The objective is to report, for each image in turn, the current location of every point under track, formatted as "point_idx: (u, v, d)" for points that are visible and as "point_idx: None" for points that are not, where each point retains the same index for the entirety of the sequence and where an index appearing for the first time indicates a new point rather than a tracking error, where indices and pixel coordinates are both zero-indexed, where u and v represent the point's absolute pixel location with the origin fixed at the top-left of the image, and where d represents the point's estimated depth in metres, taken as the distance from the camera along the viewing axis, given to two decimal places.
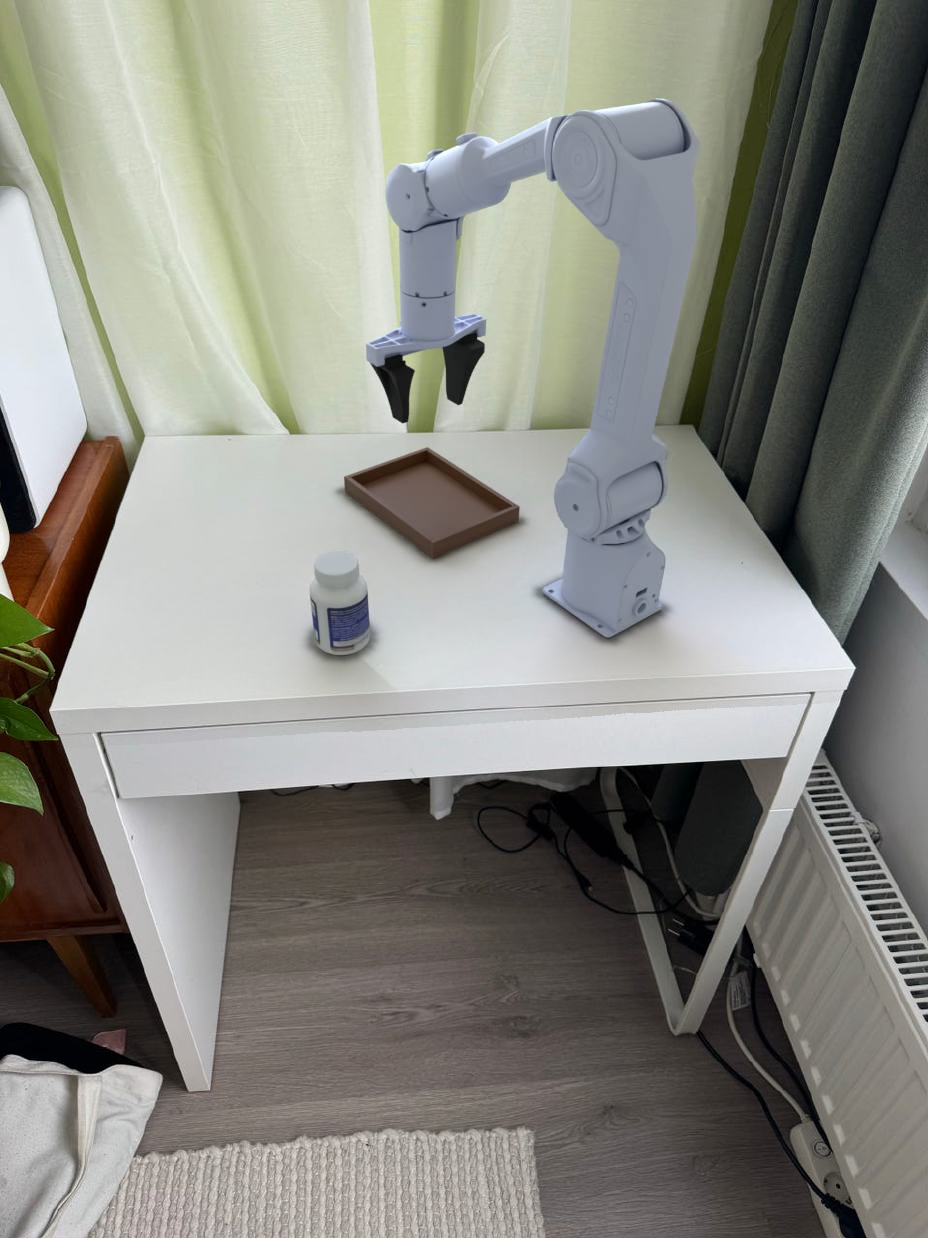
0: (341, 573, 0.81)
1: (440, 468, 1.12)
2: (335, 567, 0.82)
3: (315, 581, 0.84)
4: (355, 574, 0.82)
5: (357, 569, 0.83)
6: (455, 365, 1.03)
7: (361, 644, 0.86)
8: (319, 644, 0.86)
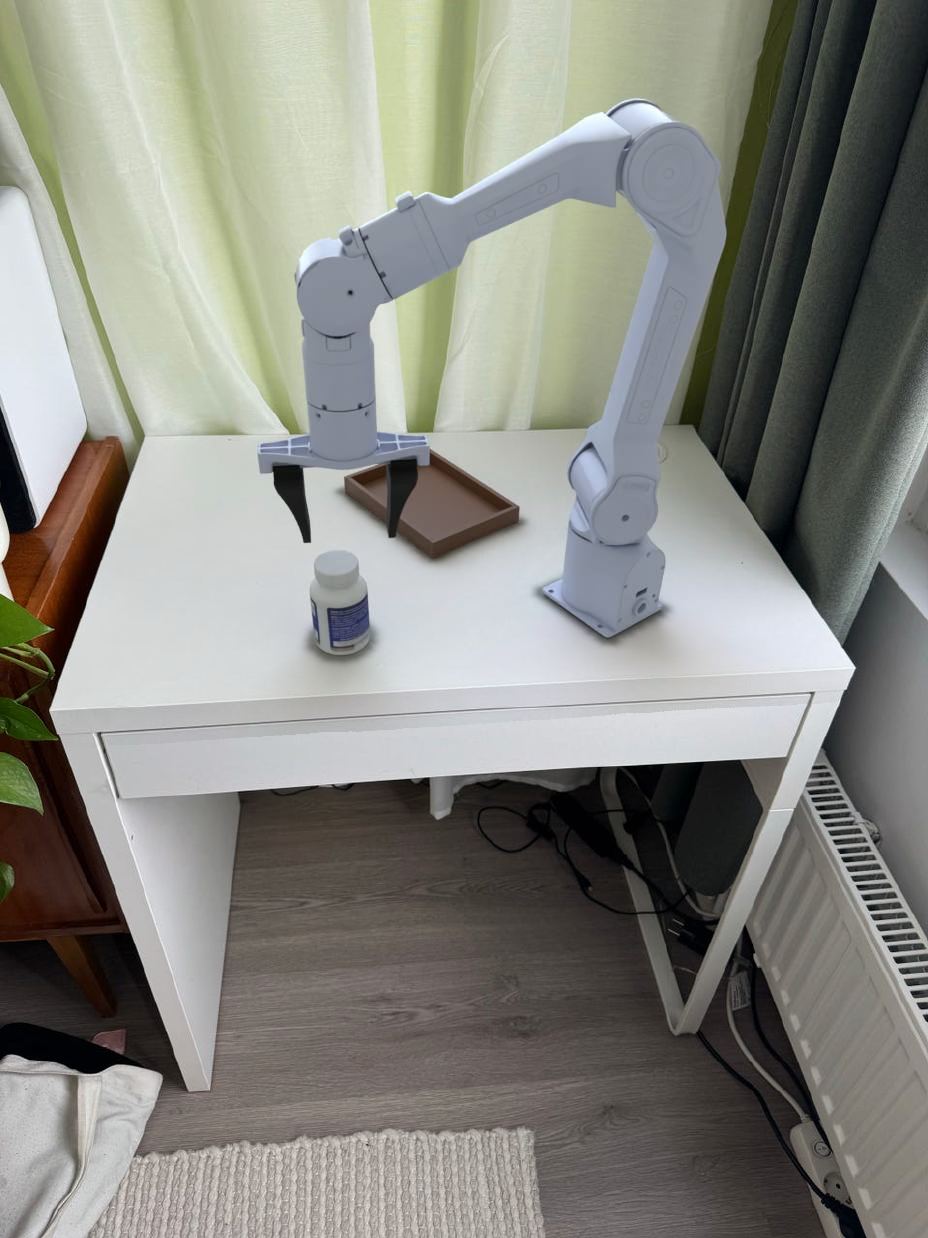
0: (341, 573, 0.81)
1: (440, 468, 1.12)
2: (335, 567, 0.82)
3: (315, 581, 0.84)
4: (355, 574, 0.82)
5: (357, 569, 0.83)
6: (388, 491, 0.83)
7: (361, 644, 0.86)
8: (319, 644, 0.86)
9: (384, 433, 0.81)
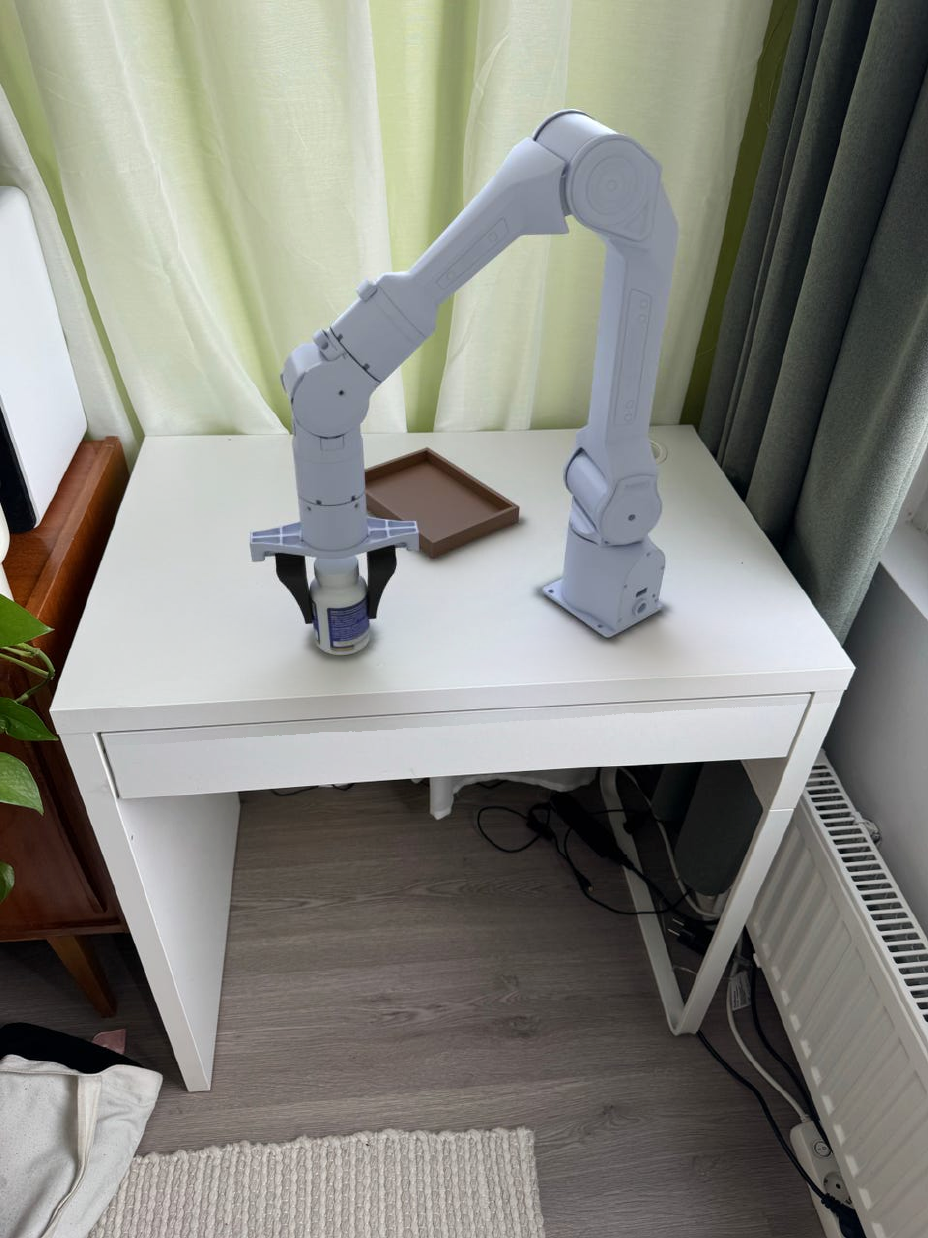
0: (341, 573, 0.81)
1: (440, 468, 1.12)
2: (335, 567, 0.82)
3: (315, 581, 0.84)
4: (355, 574, 0.82)
5: (357, 569, 0.83)
6: (368, 575, 0.84)
7: (361, 644, 0.86)
8: (319, 644, 0.86)
9: (374, 519, 0.82)
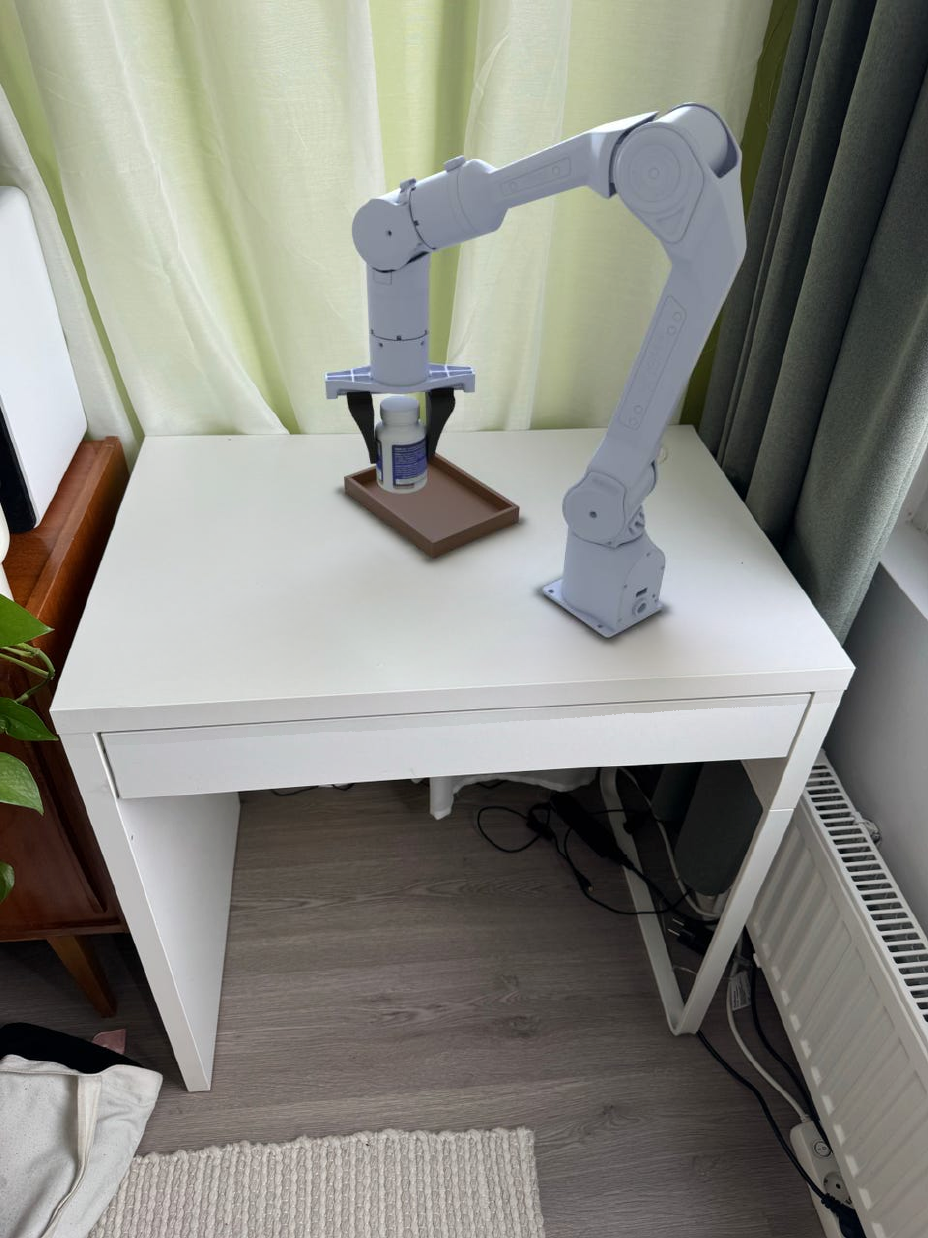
0: (405, 411, 0.91)
1: (440, 468, 1.12)
2: (399, 407, 0.91)
3: (380, 423, 0.93)
4: (417, 414, 0.92)
5: (419, 410, 0.92)
6: (428, 417, 0.93)
7: (420, 484, 0.96)
8: (382, 484, 0.96)
9: (434, 364, 0.92)
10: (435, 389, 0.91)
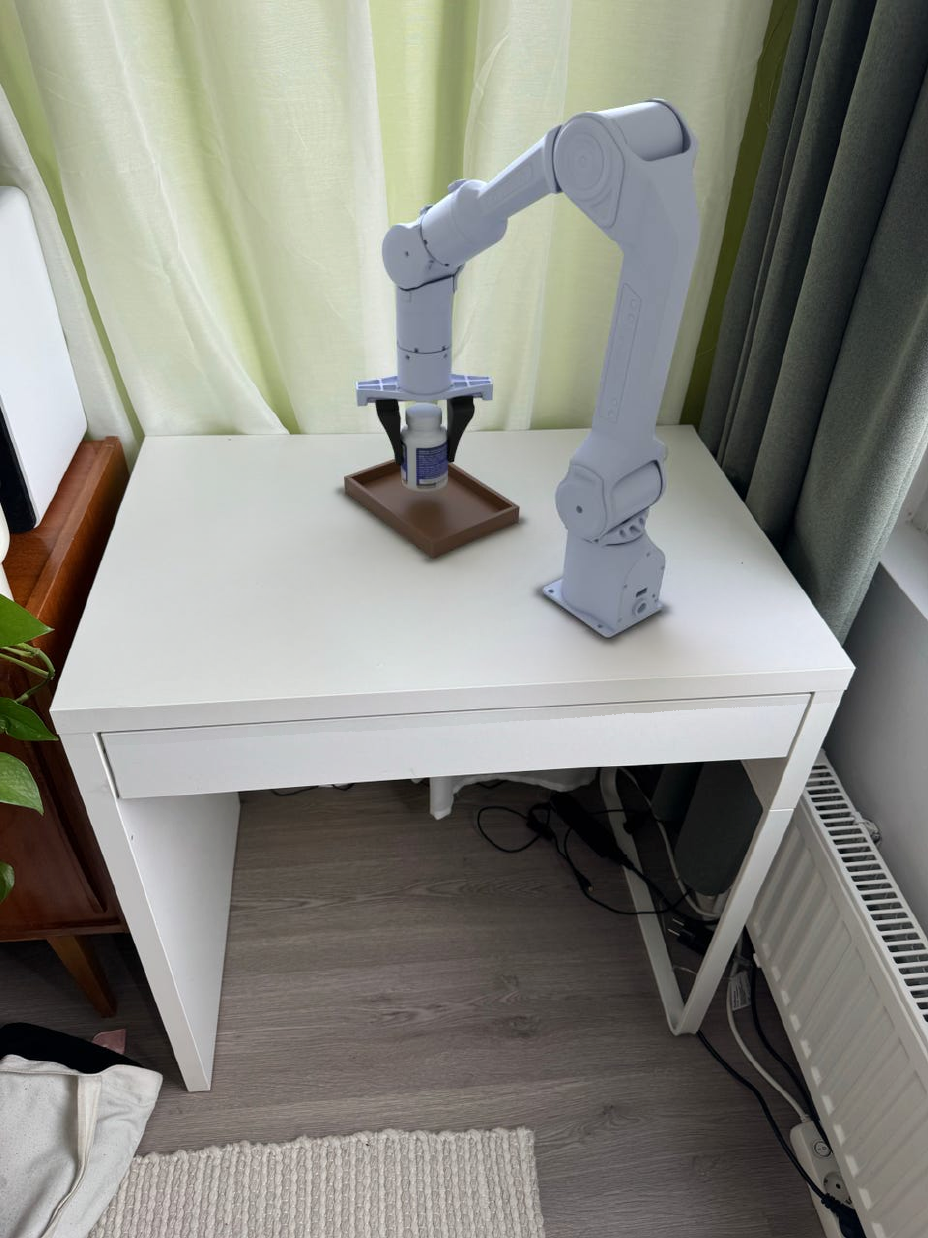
0: (429, 417, 0.99)
1: None
2: (423, 413, 1.00)
3: (405, 428, 1.02)
4: (439, 419, 1.00)
5: (441, 416, 1.00)
6: (449, 423, 1.02)
7: (441, 484, 1.04)
8: (406, 483, 1.04)
9: (455, 374, 1.00)
10: (456, 397, 0.99)
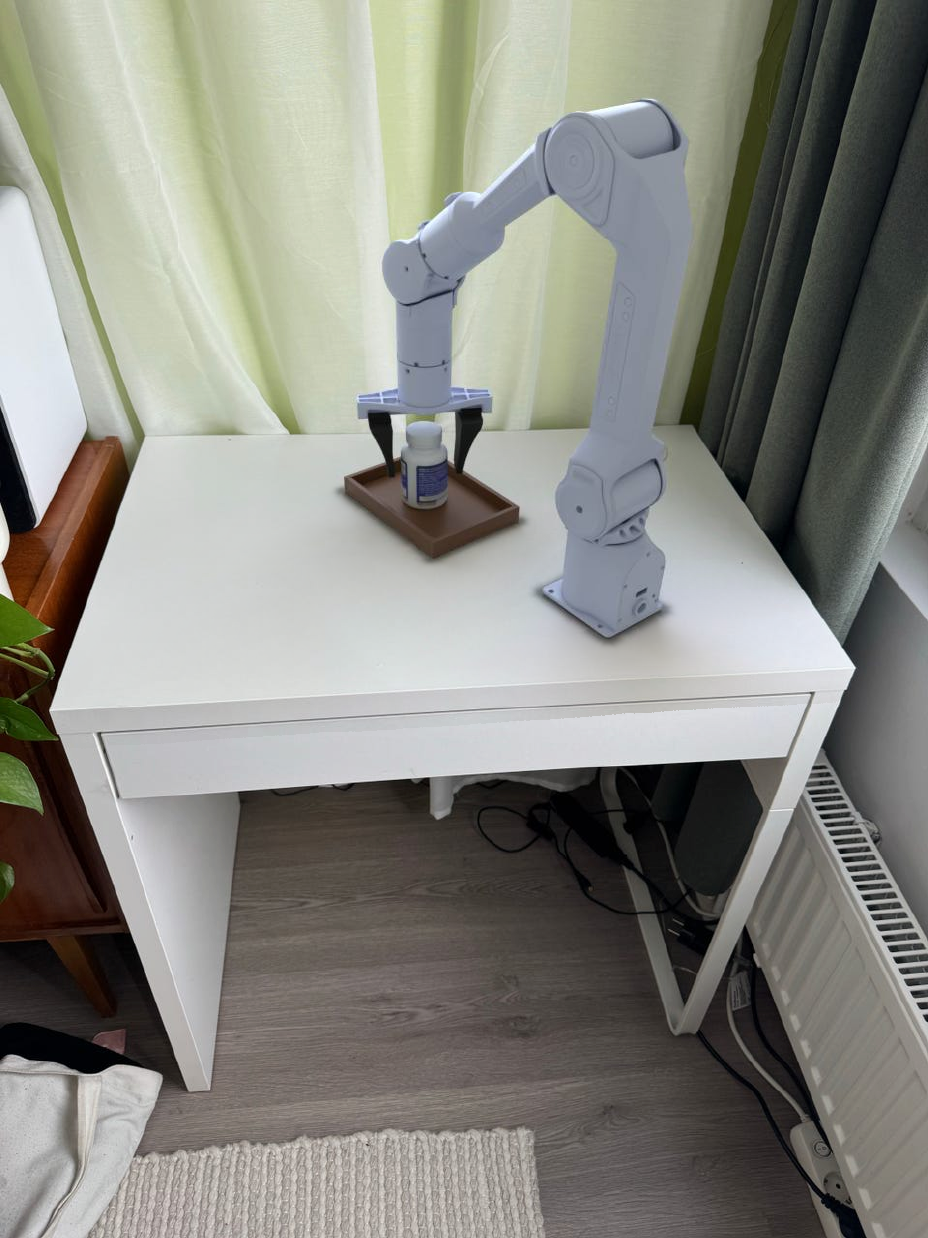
0: (429, 436, 1.01)
1: None
2: (423, 432, 1.01)
3: (405, 446, 1.03)
4: (439, 438, 1.02)
5: (441, 434, 1.02)
6: (458, 434, 1.03)
7: (441, 501, 1.06)
8: (406, 500, 1.06)
9: (455, 387, 1.01)
10: (465, 409, 1.00)
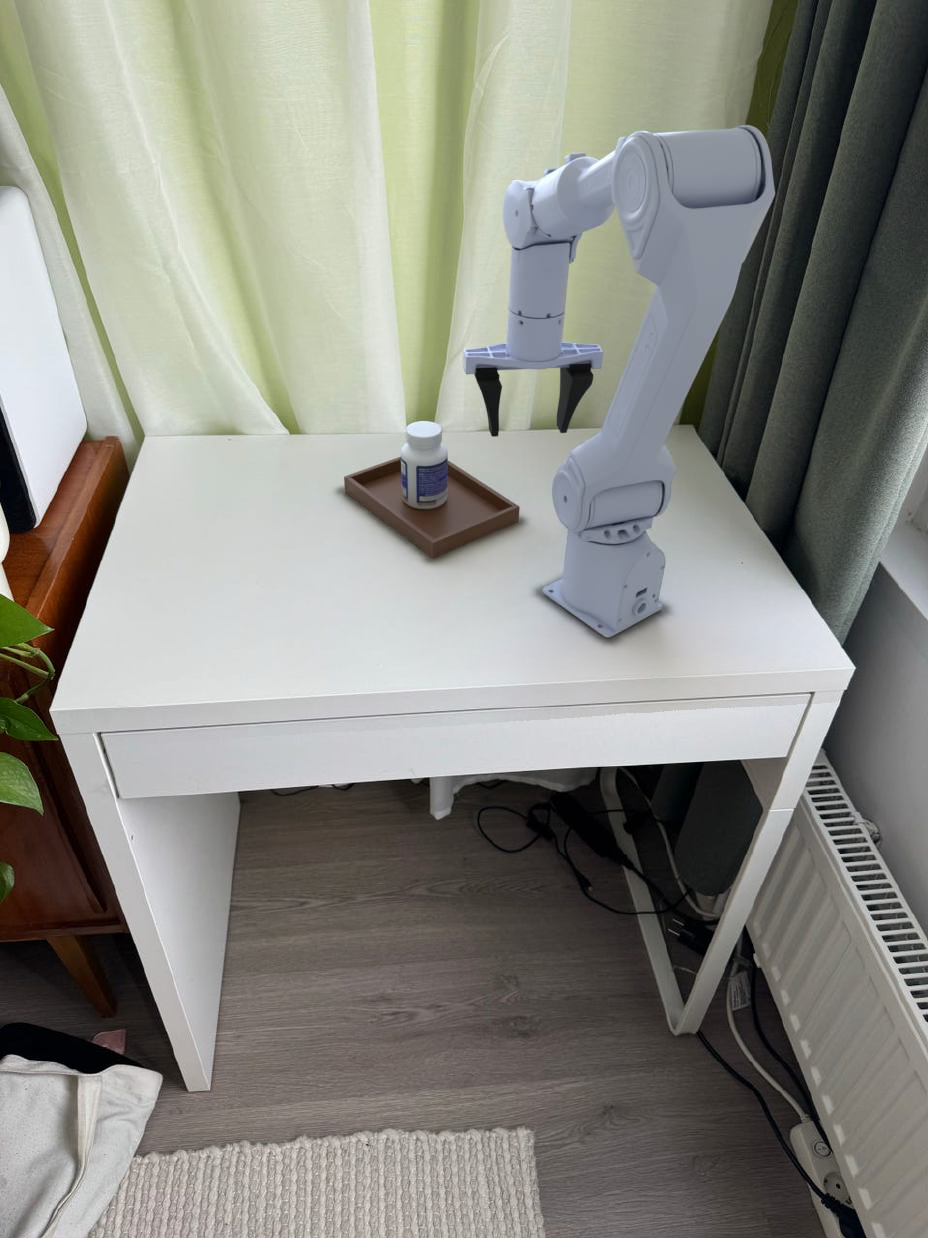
0: (429, 436, 1.01)
1: None
2: (423, 432, 1.01)
3: (405, 446, 1.03)
4: (439, 438, 1.02)
5: (441, 434, 1.02)
6: (564, 392, 1.00)
7: (441, 501, 1.06)
8: (406, 500, 1.06)
9: (563, 342, 0.98)
10: (574, 365, 0.97)
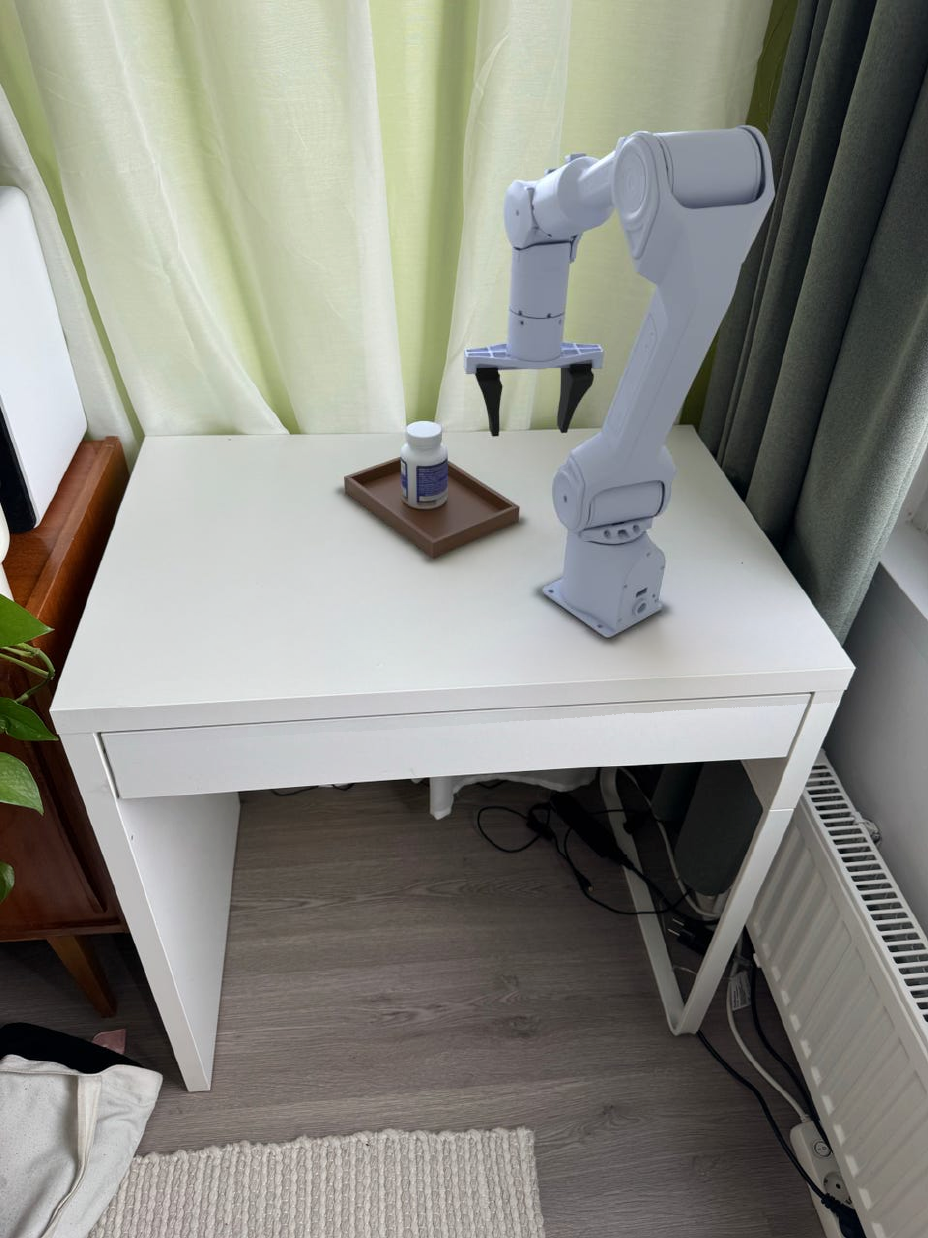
0: (429, 436, 1.01)
1: None
2: (423, 432, 1.01)
3: (405, 446, 1.03)
4: (439, 438, 1.02)
5: (441, 434, 1.02)
6: (564, 392, 1.00)
7: (441, 501, 1.06)
8: (406, 500, 1.06)
9: (563, 342, 0.98)
10: (574, 365, 0.97)
